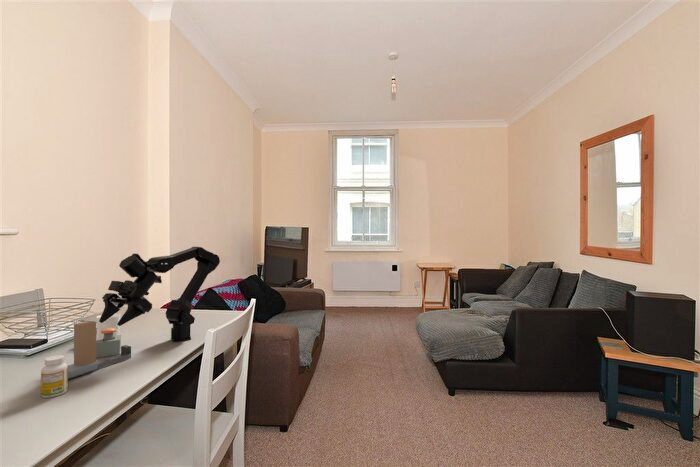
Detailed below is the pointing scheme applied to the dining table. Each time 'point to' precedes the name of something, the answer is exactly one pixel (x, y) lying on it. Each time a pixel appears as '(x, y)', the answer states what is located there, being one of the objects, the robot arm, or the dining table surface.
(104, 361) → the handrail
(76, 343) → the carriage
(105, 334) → the gauge button
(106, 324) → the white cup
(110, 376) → the dining table surface
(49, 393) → the supplement bottle
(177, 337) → the robot arm
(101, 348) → the gauge cabinet
